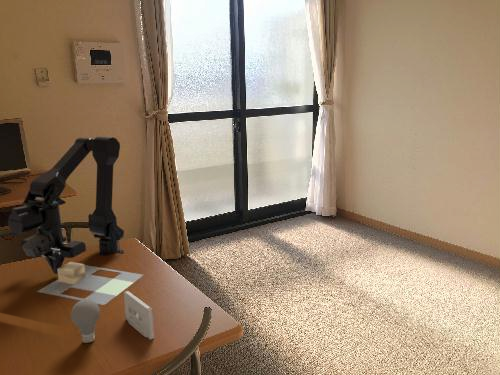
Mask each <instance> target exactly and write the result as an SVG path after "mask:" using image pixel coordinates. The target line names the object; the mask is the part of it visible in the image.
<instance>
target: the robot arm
mask: <svg viewBox="0 0 500 375" xmlns="http://www.w3.org/2000/svg"><path fill="white" fill-rule="evenodd" d="M120 150H121V143H120V141H119V140H118V139H117V138H116V137H112V136H96V137H94V139H93V138H91V137H78V138H76V139H75V141H74V143H73V144H72V146H71V147H70V148H69V149H68V150H67V151H66V152H65V154H63V156H62V157H61V158H60V159H59V160H58V161H57V162H56V163H55V164H54V165H53V167H51V169H49V170H46V171H45V172H43V173H40V174H39V175H38V176H37V177H36V178H34V179H33V180H32V181H31V182H30V183H29V190H28V192H27V194H26V196H25V198H24V200H23V202H22V205H23V206H18V207H13V208H11V213H10V214H9V216H8V219H7V224H8V227H9V229H10V230H11V232H13V234H16V235H20V234H23V233H26V232H29V231H31V230H34V231H35V233H34V234H33V235H31V236H29V237H27V238H24V239H22V241H21V243H20V250H21V251H24V253H25V254H26V256H27V257H33V258H40V257H42V258H44V259H45V260H46V262H47V264H48V265H49V266H50V269H51V271H52V272H53V274H54V275H58V270H57V269H58V268H60V267H62V266H63V263H64V260H65V258H67V259H72V258H75V257H77V256H79V255H81V254H83V253H85V252H86V251H87V247H86V246H87V245H86V243H85V242H83V241H79V240H71V241H70V242H67V236H64V235H63V234H64V233H63V228H66V224H65V223H62V220H61V212H60V211H61V210H60V206H61V205H65V204H66V201H65V200H64V199H62V198H61V195H62V193H63V192H64V190H65V188H66V185H67V184H66V182H67V180H68V178H69V177H70V176H71V175H72V174H73V172H74V171H75V170H76V169H77V167H79V165H80V164H81V163H82V162H83V161H84V160H85V158H86V157H87V156H88V155H89V153H90V152H91V153H92V157H93V159H94V161H95V162H96V187H95V188H96V189H95V191H96V192H95V209H94V210H93V212H92V213H89V214H88V216H87V217H88V218H87V219H88V222H87V223H88V224H87V227H88V228H89V232H90V233H91V234H92V236H93V238H95V239H98V250H99V251H98V252H99V255H100V256H101V255H102V256H109V255H111V254H119V255H121V254H124V252H125V251H124V250H121V248H120V247H121V246H120V241H121V239H122V238H124V234H125V230H123V229H122V228H121V227H120V226H118V224H117V222H118V221H117V216H116V215H115V212H114V210H113V184H114V179H113V178H114V165H115V163H116V162H117V160H118V159H119V156H120Z"/></svg>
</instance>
